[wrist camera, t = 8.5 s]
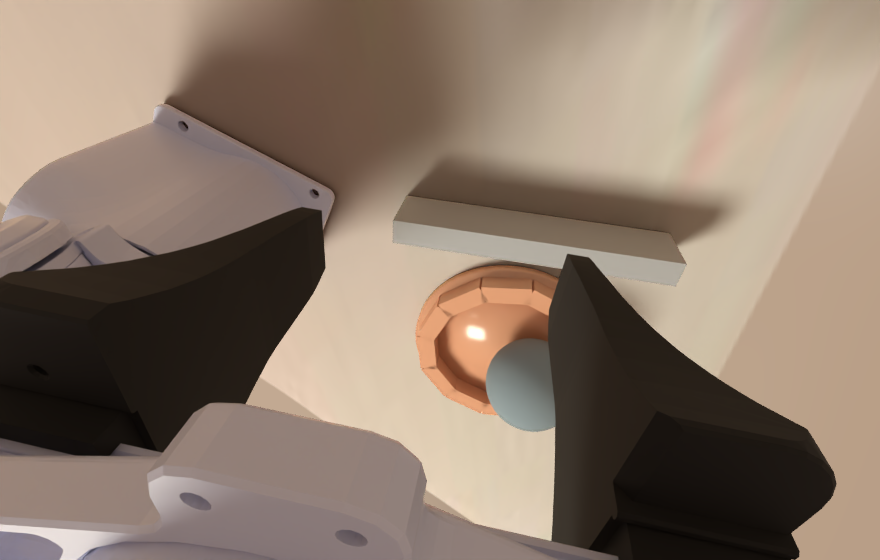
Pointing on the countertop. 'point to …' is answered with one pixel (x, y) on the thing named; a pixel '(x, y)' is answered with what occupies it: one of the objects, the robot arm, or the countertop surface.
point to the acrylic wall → (538, 239)
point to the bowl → (480, 326)
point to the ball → (522, 385)
